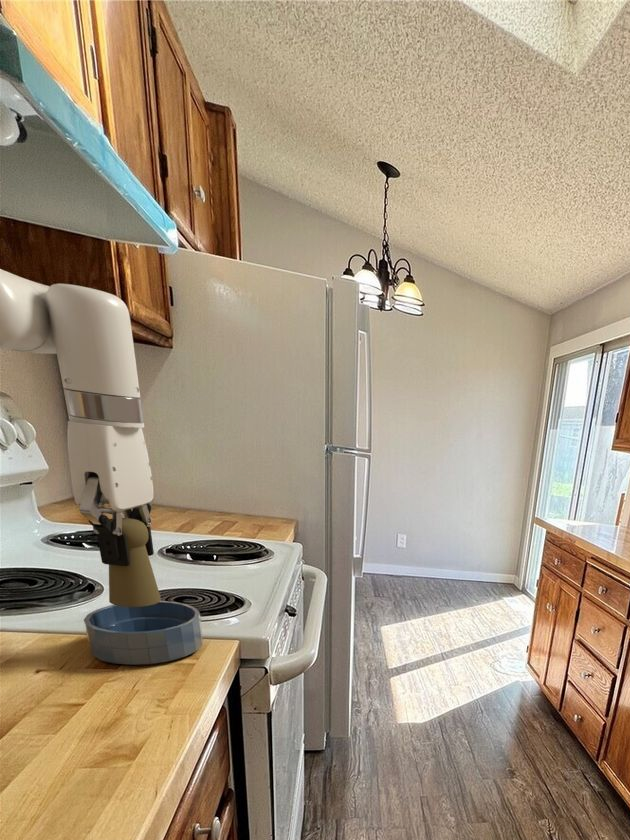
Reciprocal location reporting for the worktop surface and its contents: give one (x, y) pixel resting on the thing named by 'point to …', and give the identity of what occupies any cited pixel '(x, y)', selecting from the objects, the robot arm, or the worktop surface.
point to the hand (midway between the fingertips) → (129, 558)
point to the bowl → (144, 633)
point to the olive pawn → (134, 571)
